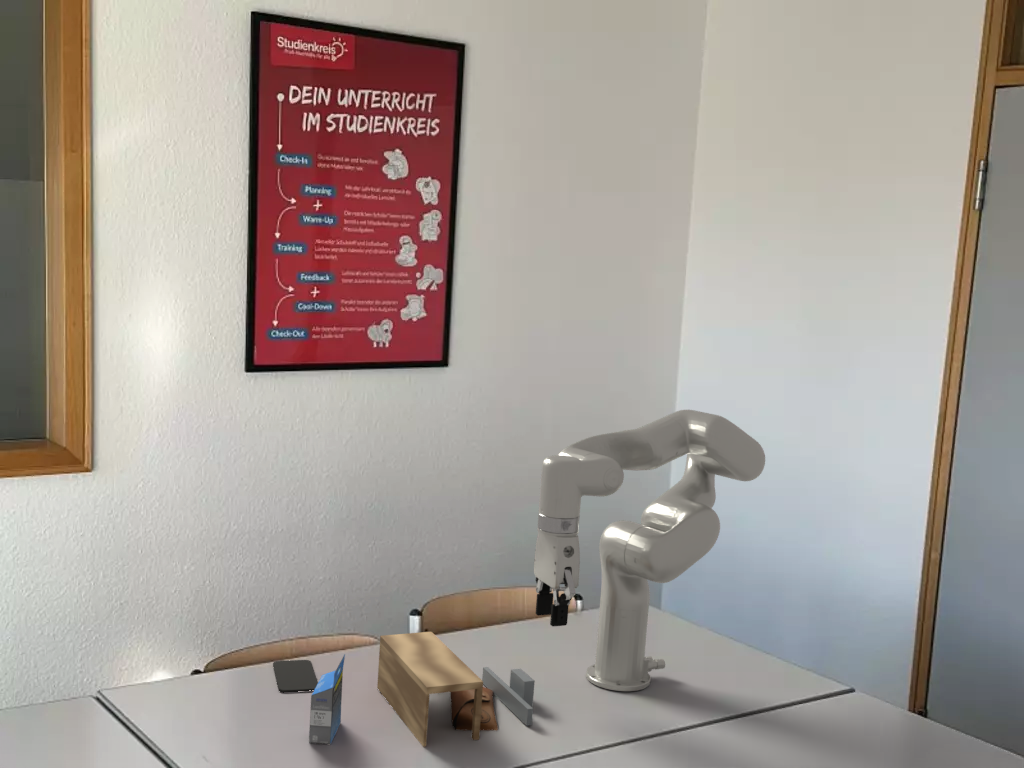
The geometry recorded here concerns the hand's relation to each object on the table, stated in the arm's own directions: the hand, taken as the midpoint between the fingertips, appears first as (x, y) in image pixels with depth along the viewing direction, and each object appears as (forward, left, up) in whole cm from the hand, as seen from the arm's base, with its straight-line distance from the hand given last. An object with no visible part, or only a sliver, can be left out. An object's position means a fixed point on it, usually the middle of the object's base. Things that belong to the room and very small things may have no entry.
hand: (551, 618), depth 205 cm
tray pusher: (+6, 0, -15) cm, 17 cm away
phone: (+42, -22, -16) cm, 50 cm away
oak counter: (+24, 0, -15) cm, 28 cm away
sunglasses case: (+15, +1, -16) cm, 22 cm away
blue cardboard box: (+43, +3, -16) cm, 45 cm away
